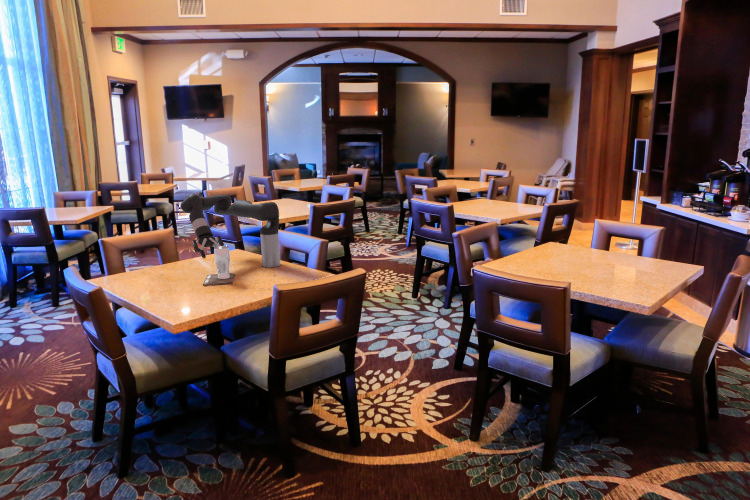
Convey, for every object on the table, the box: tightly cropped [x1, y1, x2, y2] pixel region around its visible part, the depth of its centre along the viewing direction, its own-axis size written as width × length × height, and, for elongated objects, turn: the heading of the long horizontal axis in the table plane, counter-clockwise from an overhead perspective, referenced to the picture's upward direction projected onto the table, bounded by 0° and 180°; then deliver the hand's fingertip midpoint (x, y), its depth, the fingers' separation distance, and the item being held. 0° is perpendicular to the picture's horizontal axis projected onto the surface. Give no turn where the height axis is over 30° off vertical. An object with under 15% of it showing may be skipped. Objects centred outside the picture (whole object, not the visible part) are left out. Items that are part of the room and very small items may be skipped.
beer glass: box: [213, 245, 231, 280], centre depth 258 cm, size 7×7×15 cm
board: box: [202, 272, 236, 287], centre depth 259 cm, size 17×13×1 cm
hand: (213, 256), depth 263 cm, fingers open, 8 cm apart
